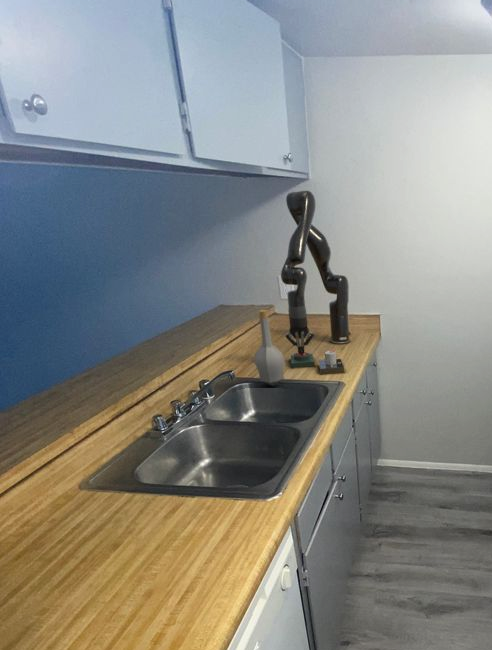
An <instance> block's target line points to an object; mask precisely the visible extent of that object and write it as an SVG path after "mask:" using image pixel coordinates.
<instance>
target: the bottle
mask: <svg viewBox="0 0 492 650" xmlns="http://www.w3.org/2000/svg"><path fill="white" fill-rule="evenodd" d="M258 313H259V314H258V315H259V316H258V318H259V323H260V329H261V330H260V331H261V341H262V342H261V343H262V344H261V345H260V346H259V348H258V349H257V350H256V351H255V353H254V361H253V362H254V364H255V367H256V369H257V371H258V376H259V380H260V381H262V382H263V383H264V384H267V385H268V386H271V387H274V386H277V385H279V384H280V383H281V382H282V381H283V380H284V379H285V374H284V369H285V364H286V361H285V357H284V354H283V352H282V351H281V350H279V349H278V348H277V347H276V346H275V345H274V344H273V340H272V337H271V336H272V335H271V329H270V320H269V318H270V316H268V310H267V309H259V310H258Z"/></svg>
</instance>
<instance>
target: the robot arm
mask: <svg viewBox="0 0 492 650" xmlns="http://www.w3.org/2000/svg"><path fill="white" fill-rule="evenodd" d="M285 202H286V206H287V210H288V211H289V213H290V215H291V217H292V219H293V220H294V222H295V224H296V228H295V229H294V231H293V233H292V234H291V236H290V238H289V242H288V249H287V256H286V258H285V260H284V263H283V266H282V269H281V271H280V279H281V281H282V283H283V284H285V285H289V286H297V287H296V289H293V290H292V289H291V290H289V291H288V292H287V303H288V304H287V305H288V309H287V310H288V319H289V320H288V321H289V331H288V332H287V333H285V336H284V337H285V338H286V340H288V341H289V342H290V343H291V344H292V346H294V347H297V353H299V354H300V355H303V353H304V352H305V346H308V345H309V344H310V342H311V341H312V339H313V338H314V337H315V334H314V332H312V331H310V329H309V327H308V317H307V316H308V314H307V307H306V300H305V293H306V292H305V290H306V285H307V281H308V280H307V279H308V275H307V272H306V270H305V268H304V267H299V266H297V265H302V264H304V263H305V258H306V250H307V248H308V251H309V252H310V255H311V258H312V259H313V261H314V263H315V265H316V268H317V270H318V273H319V277H320V279H321V282H322V284H323V287H324V289H325V291H326V292H327V293H328V294H331V295H336V299H335V300H332V301H330V302H329V304H328V308H329V323H330V337H331V338H330V339H331V343H332V344H335V345H343V344H348V343H350V335H351V331H350V328H349V325H350V324H349V299H350V296H349V295H350V294H349V293H350V290H349V289H350V288H349V285H350V284H349V280H348V278H347V276H346V275H342V274H334V273H333V272H332V270H331V267H330V261H331V256H332V251H331V250H332V249H331V247H330V245H329V242H328V240H327V237H326V236H325V234H324V233H322V232H321V230H319V229H318V227H316V226H314V225H313V224H312V223H313V220H314V216H315V213H316V206H317V203H316V198H315V195H314V194H313V192H312V191H311V190H298V191H291V192H288V193H287V195H286V198H285ZM292 337H293V338H294V339H293V338H292ZM306 337H307V338H306ZM305 339H306V340H305ZM295 340H296V341H295Z"/></svg>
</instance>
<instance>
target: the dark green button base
mask: <svg viewBox="0 0 492 650" xmlns="http://www.w3.org/2000/svg"><path fill="white" fill-rule="evenodd" d="M304 353H306V356H297V354H298V352H296V353H294V354H290V365H291V369H297V368H310V367H311V368H312V367H315V359H314V355H313V353H309V352H305V351H304Z"/></svg>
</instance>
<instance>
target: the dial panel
mask: <svg viewBox="0 0 492 650" xmlns="http://www.w3.org/2000/svg"><path fill="white" fill-rule="evenodd" d="M318 368H319V372H320V375H332V374H344V373H345V366H344V363H343V360H342V358H336V364H335V365H326V364H325V359H318Z"/></svg>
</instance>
